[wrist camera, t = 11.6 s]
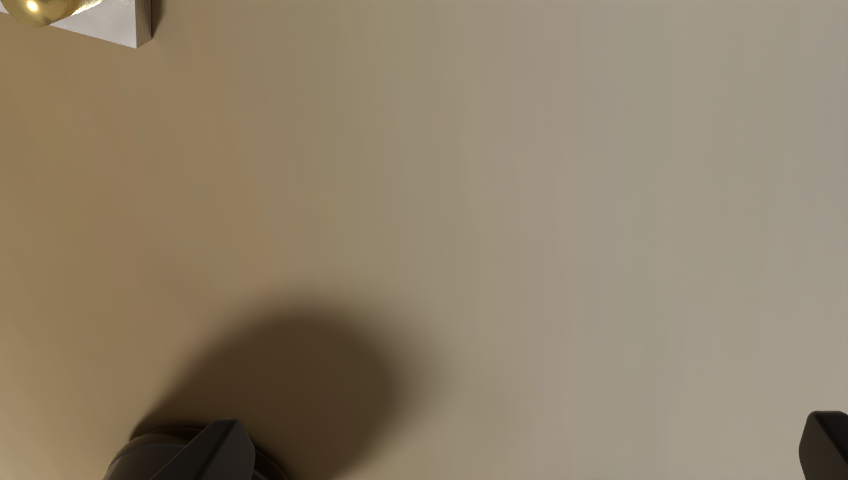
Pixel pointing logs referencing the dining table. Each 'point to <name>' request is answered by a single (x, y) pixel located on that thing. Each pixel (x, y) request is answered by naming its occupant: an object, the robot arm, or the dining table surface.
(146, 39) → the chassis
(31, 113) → the dining table surface
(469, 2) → the dining table surface
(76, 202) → the dining table surface
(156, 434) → the supplement container
